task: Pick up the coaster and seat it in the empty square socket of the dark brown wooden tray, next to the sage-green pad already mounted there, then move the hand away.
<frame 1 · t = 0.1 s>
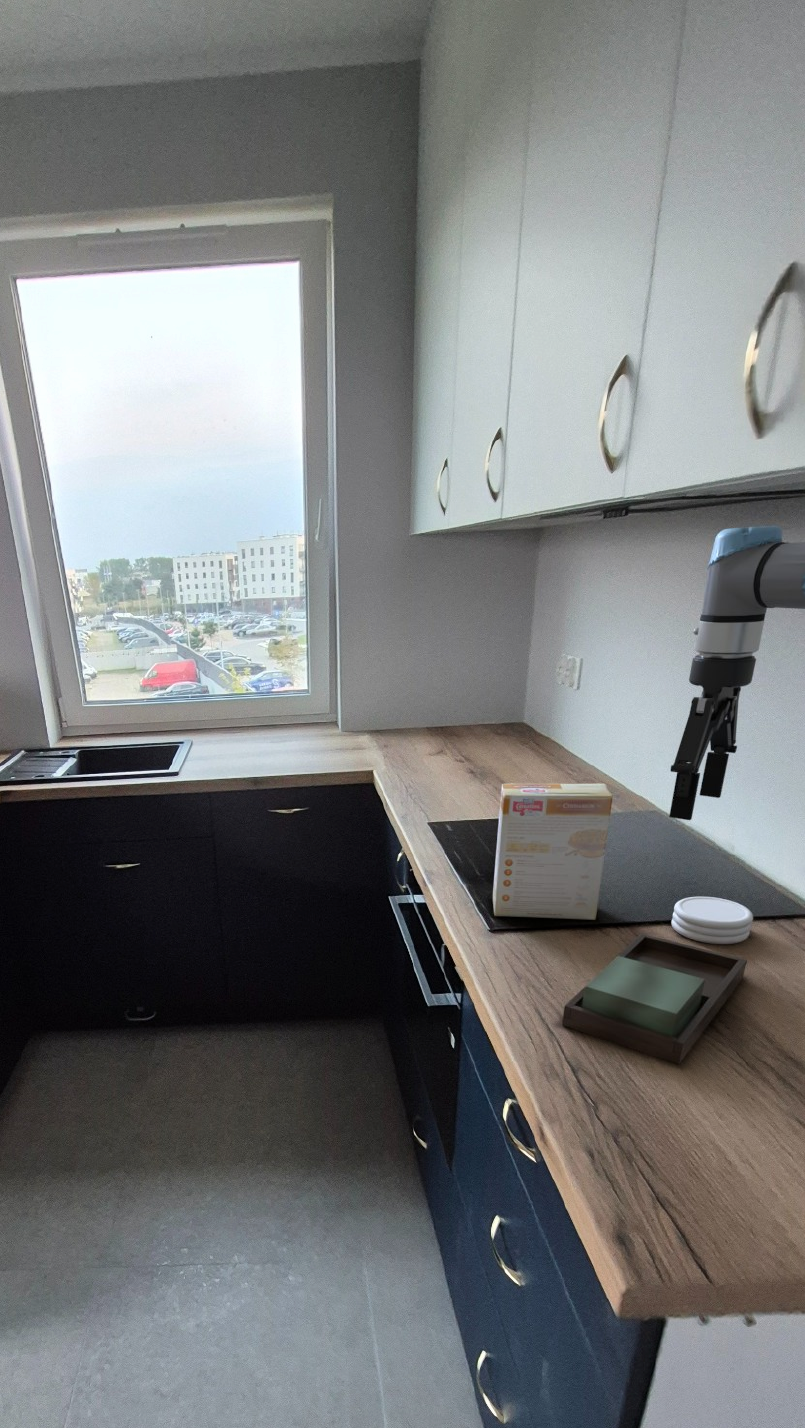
hand: (695, 807, 117), 16 cm above the worktop, tool pointing down, fingers open, 13 cm apart
dark brown wooden tray: (656, 1000, 99), on the worktop
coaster: (708, 931, 116), on the worktop
coffeecake box: (541, 911, 125), on the worktop
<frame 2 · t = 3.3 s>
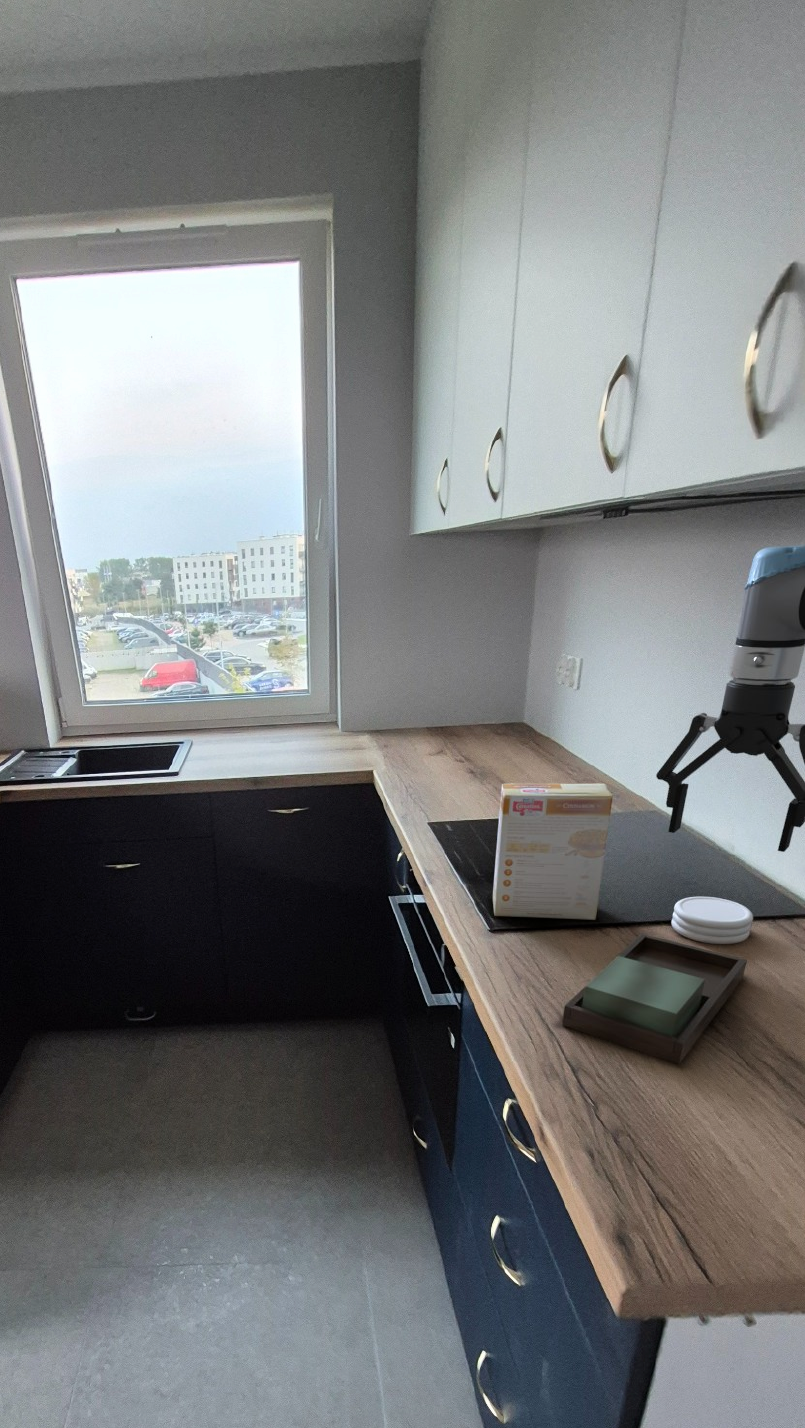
hand: (726, 839, 110), 14 cm above the worktop, tool pointing down, fingers open, 13 cm apart
nothing on the worktop moved.
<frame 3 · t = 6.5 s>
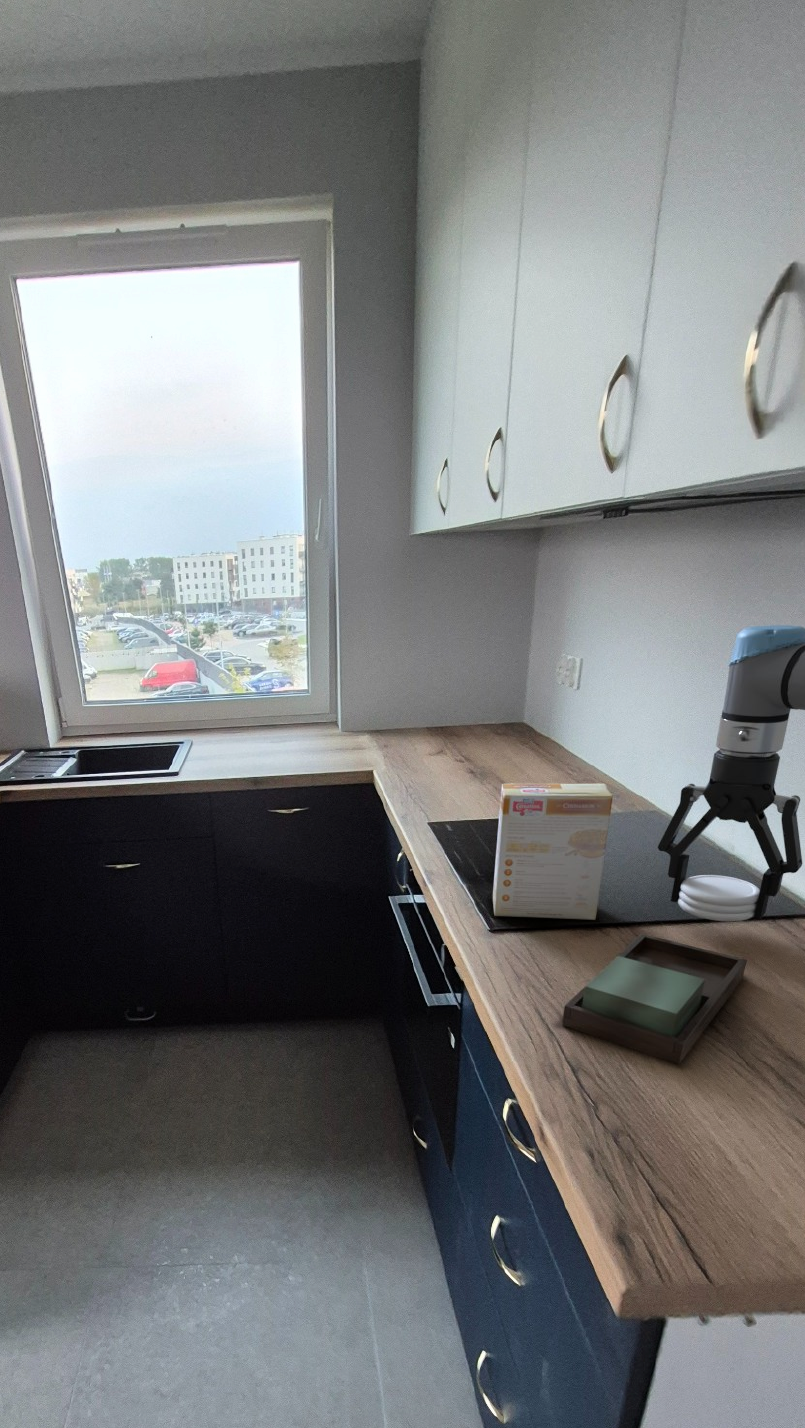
hand: (716, 907, 114), 4 cm above the worktop, tool pointing down, fingers closed on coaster, 10 cm apart
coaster: (716, 910, 114), point 3 cm above the worktop, touching gripper
everything else where it was.
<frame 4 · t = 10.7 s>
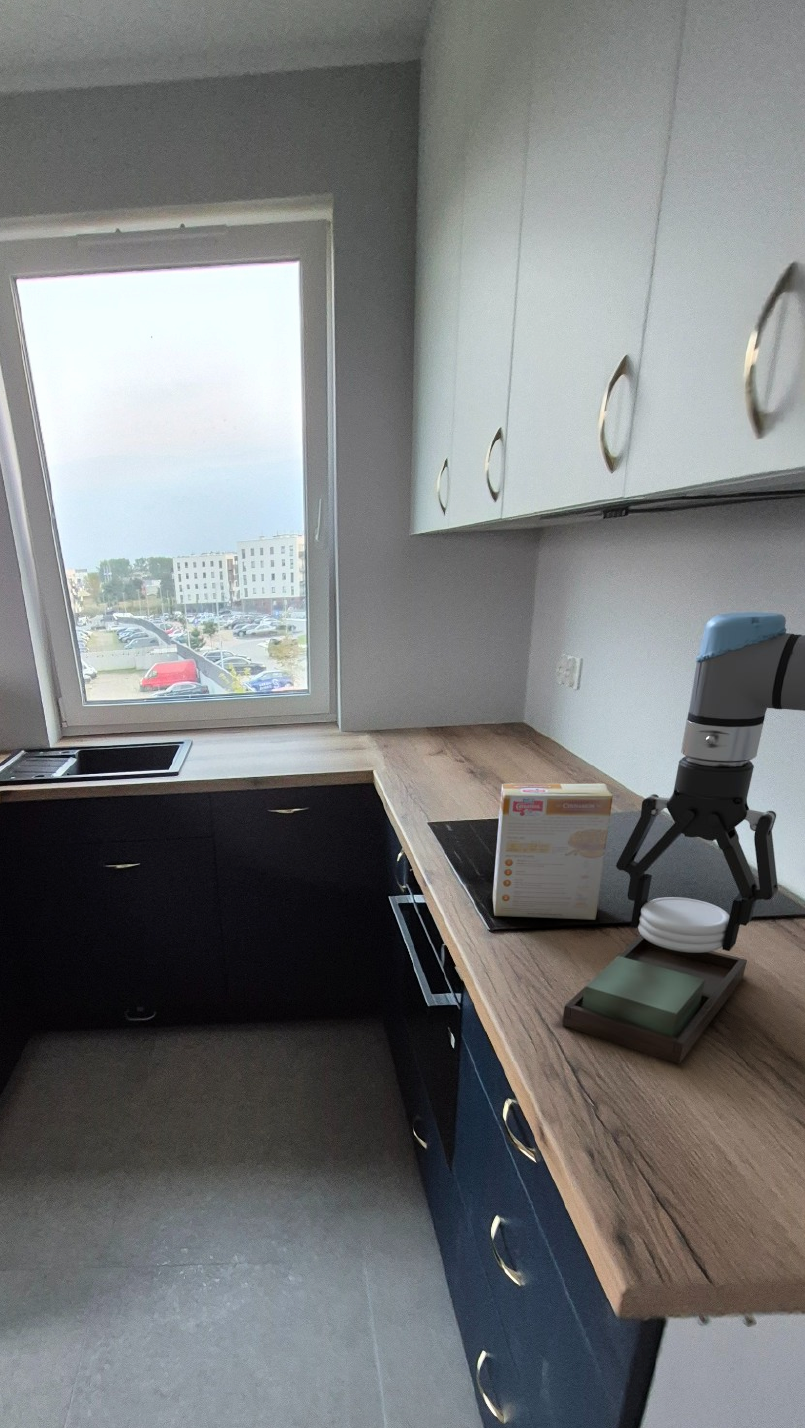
hand: (681, 934, 100), 7 cm above the worktop, tool pointing down, fingers closed on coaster, 10 cm apart
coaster: (680, 938, 100), point 6 cm above the worktop, touching gripper
everything else where it was.
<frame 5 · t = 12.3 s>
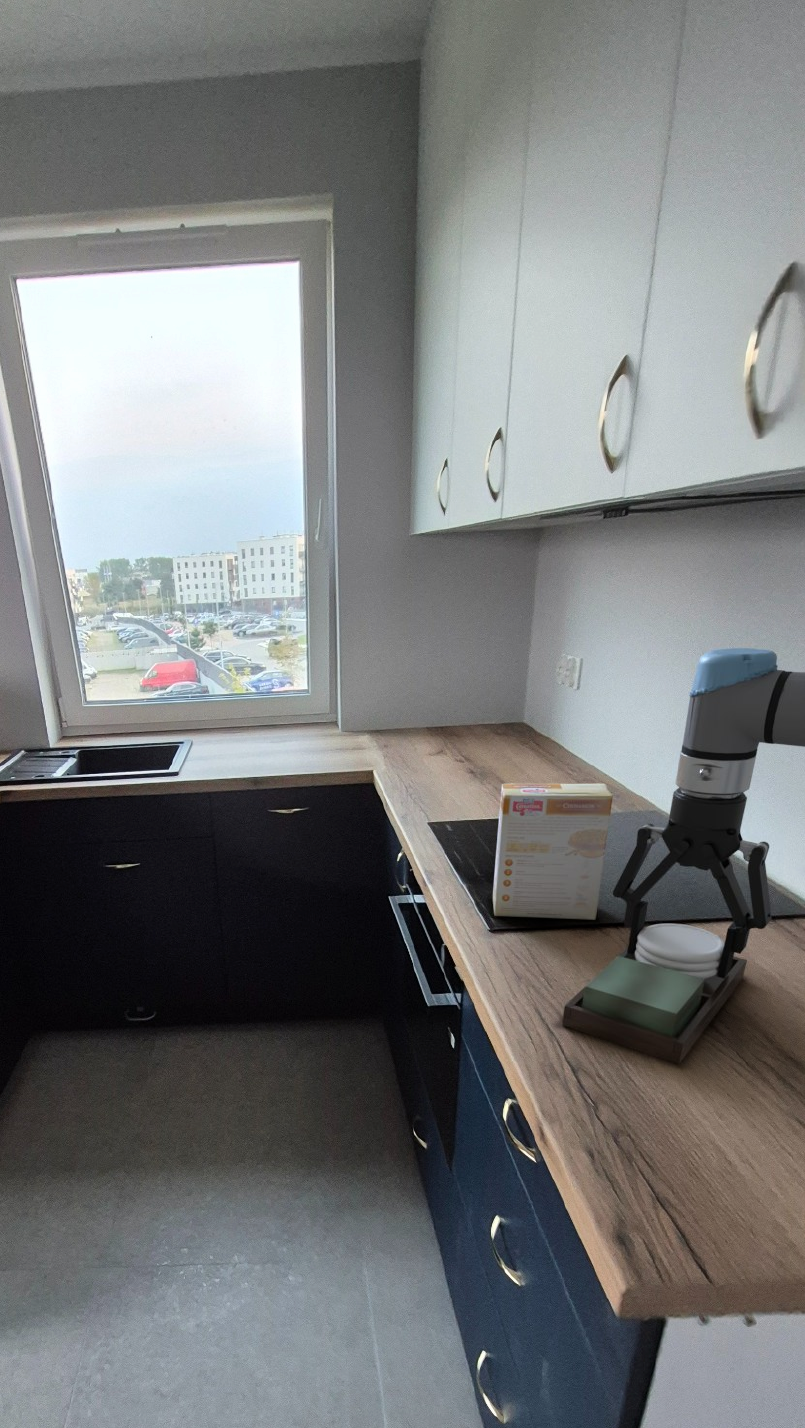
hand: (677, 961, 102), 3 cm above the worktop, tool pointing down, fingers closed on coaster, 10 cm apart
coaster: (676, 964, 102), point 3 cm above the worktop, touching gripper
everything else where it was.
when the fingers open (3 cm above the worktop, at t = 14.8 s): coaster drops 2 cm, resting on dark brown wooden tray.
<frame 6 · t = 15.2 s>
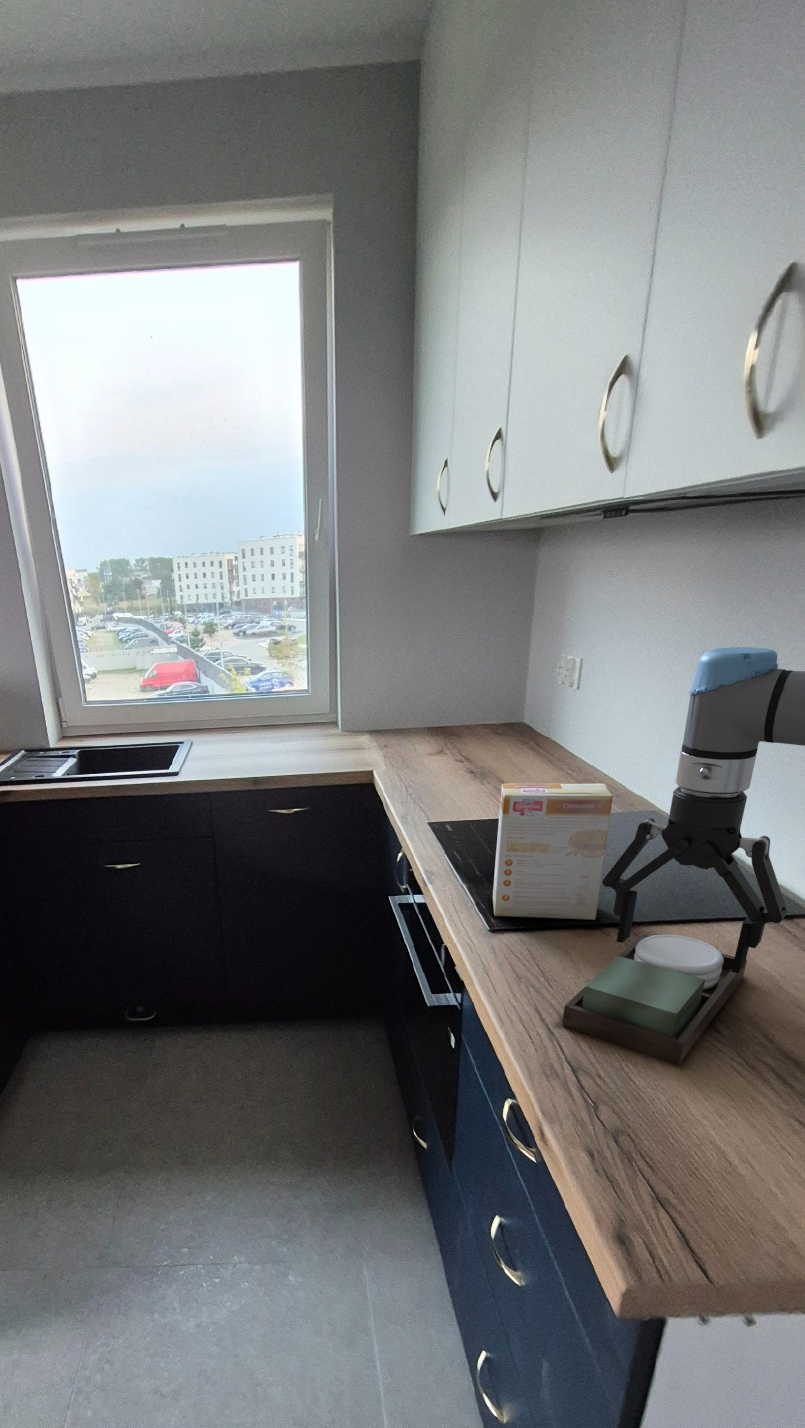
hand: (678, 953, 101), 4 cm above the worktop, tool pointing down, fingers open, 13 cm apart
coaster: (674, 975, 102), point 1 cm above the worktop, touching dark brown wooden tray
everything else where it was.
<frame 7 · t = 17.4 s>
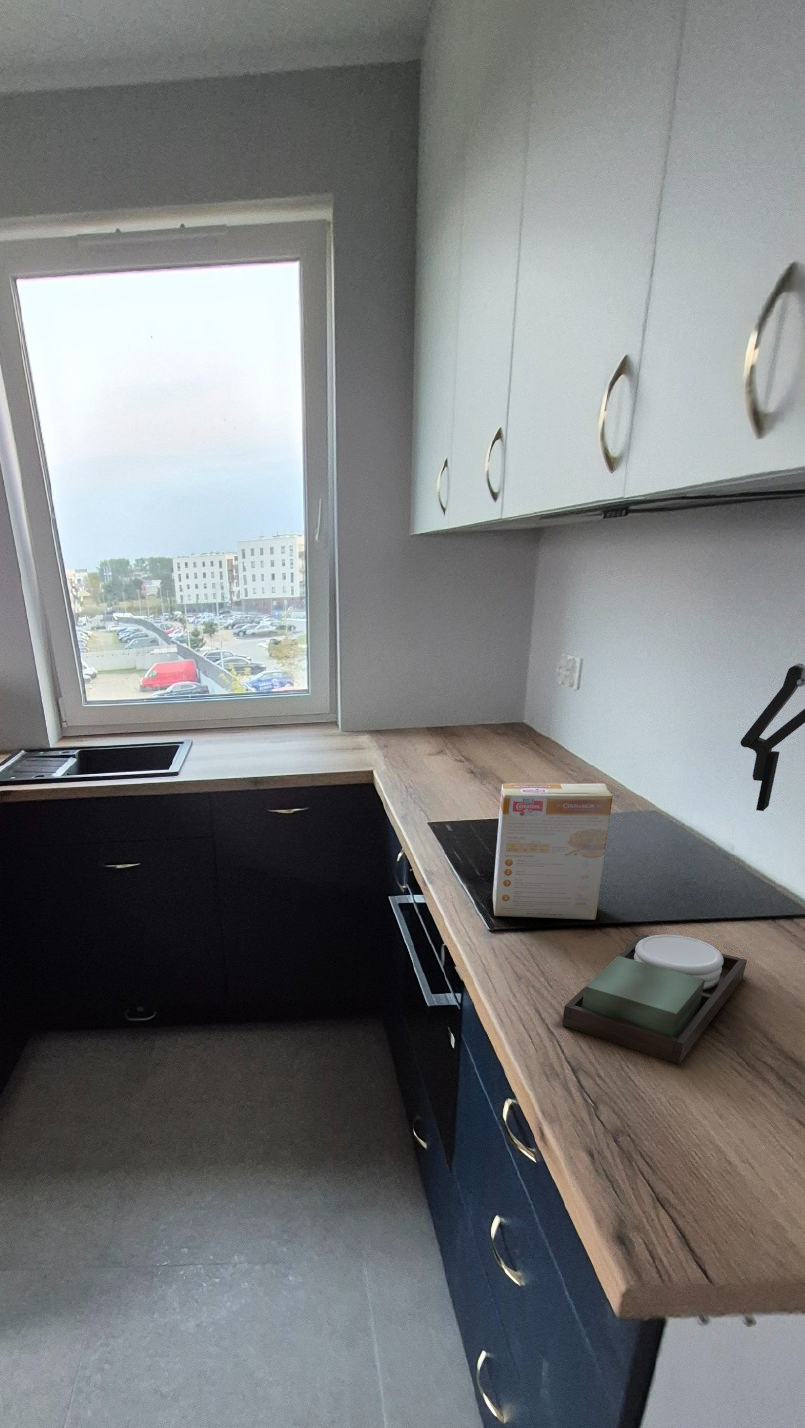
nothing on the worktop moved.
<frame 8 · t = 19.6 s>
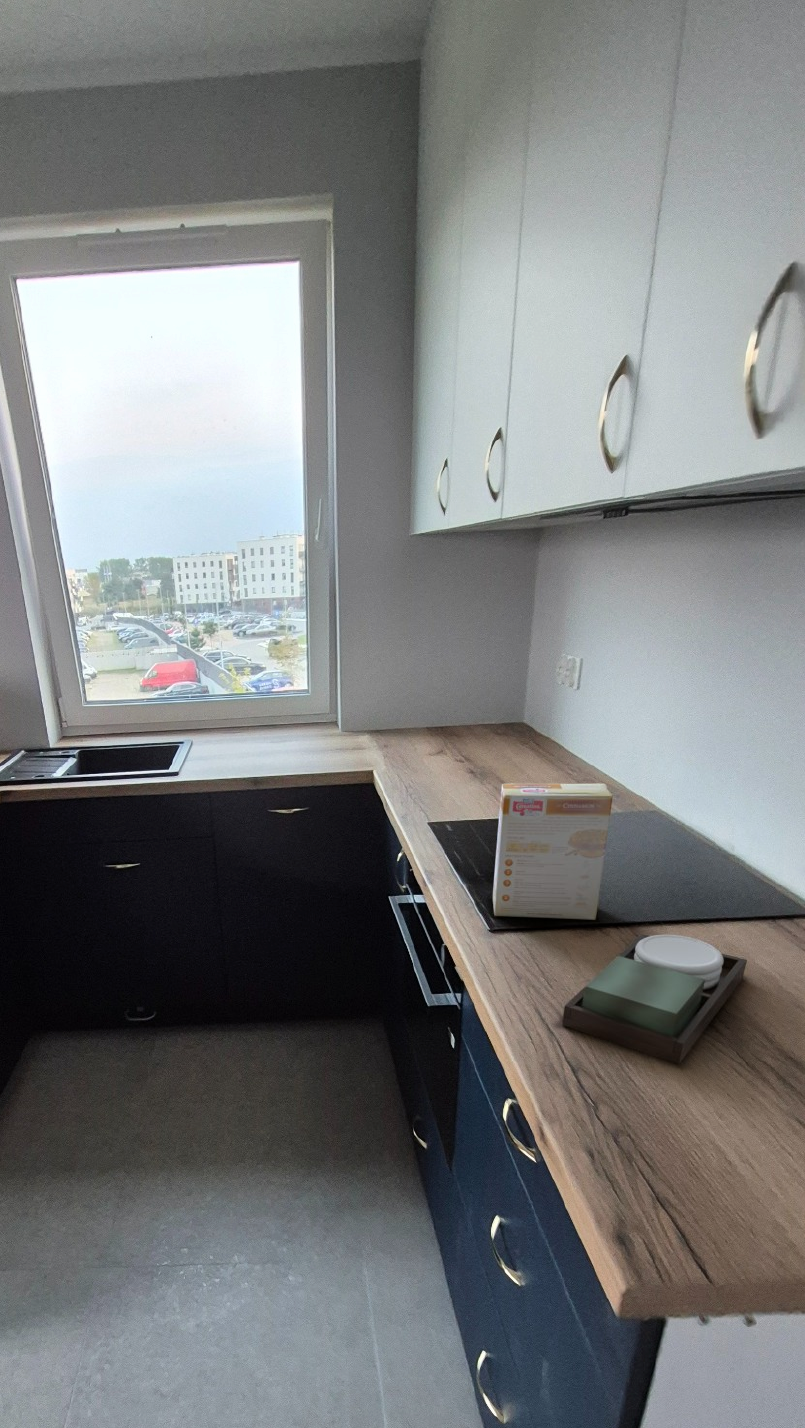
nothing on the worktop moved.
at the end: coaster 0.1 cm from the target spot on the dark brown wooden tray, point 1.0 cm above the dark brown wooden tray's base; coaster tilted 0°; the gripper is holding nothing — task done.
